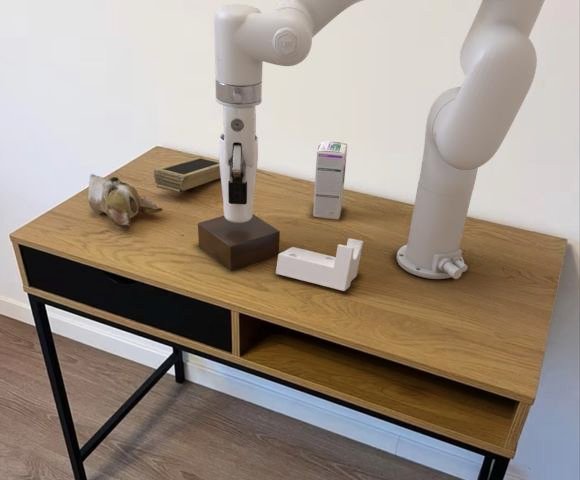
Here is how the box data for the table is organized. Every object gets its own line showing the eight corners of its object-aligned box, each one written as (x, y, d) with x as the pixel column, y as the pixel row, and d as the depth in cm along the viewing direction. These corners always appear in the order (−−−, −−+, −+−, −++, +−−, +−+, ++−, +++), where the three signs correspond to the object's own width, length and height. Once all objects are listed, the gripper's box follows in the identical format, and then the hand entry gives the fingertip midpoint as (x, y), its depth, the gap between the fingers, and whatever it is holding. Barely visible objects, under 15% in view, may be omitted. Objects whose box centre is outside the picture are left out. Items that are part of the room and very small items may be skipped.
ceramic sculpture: (110, 158, 131) (164, 182, 125) (113, 197, 136) (165, 221, 131) (69, 174, 124) (124, 200, 118) (74, 214, 129) (127, 240, 124)
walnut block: (279, 254, 121) (280, 231, 118) (230, 271, 115) (230, 246, 112) (245, 232, 127) (245, 209, 124) (198, 246, 122) (197, 222, 119)
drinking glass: (255, 227, 114) (257, 145, 105) (217, 225, 114) (216, 142, 105) (257, 210, 120) (259, 131, 111) (221, 208, 120) (220, 128, 110)
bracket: (355, 281, 116) (363, 241, 113) (344, 291, 110) (352, 248, 107) (289, 265, 120) (295, 225, 117) (275, 273, 113) (281, 231, 110)
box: (151, 191, 137) (152, 168, 134) (203, 173, 156) (204, 153, 153) (185, 200, 135) (186, 177, 132) (233, 181, 153) (235, 160, 151)
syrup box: (339, 220, 134) (346, 152, 125) (311, 217, 134) (316, 149, 125) (341, 208, 138) (348, 142, 129) (315, 205, 139) (320, 139, 130)
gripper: (261, 109, 97) (258, 217, 108) (262, 78, 110) (260, 177, 121) (211, 106, 96) (214, 216, 107) (219, 76, 110) (220, 175, 121)
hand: (238, 194), depth 114 cm, fingers closed on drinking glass, 5 cm apart
